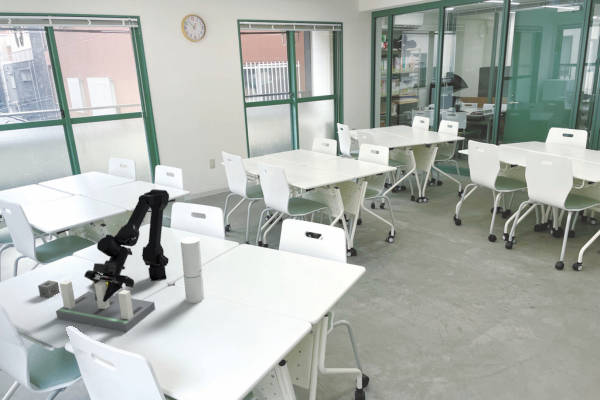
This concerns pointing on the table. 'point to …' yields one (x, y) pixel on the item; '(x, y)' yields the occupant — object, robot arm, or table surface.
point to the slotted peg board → (116, 316)
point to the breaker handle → (101, 295)
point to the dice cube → (48, 289)
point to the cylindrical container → (192, 269)
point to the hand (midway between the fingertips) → (100, 300)
